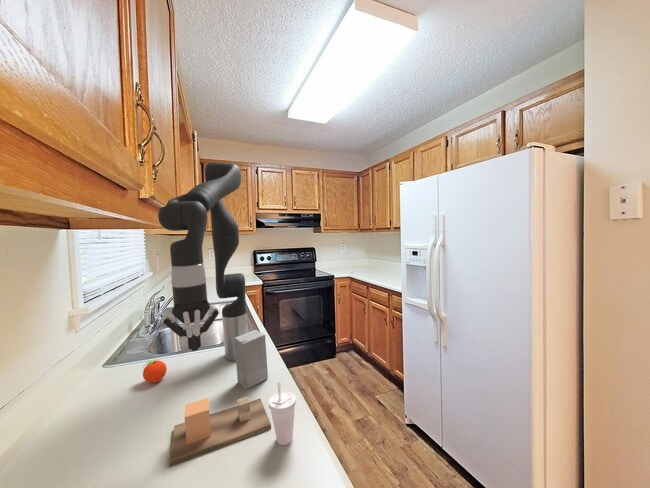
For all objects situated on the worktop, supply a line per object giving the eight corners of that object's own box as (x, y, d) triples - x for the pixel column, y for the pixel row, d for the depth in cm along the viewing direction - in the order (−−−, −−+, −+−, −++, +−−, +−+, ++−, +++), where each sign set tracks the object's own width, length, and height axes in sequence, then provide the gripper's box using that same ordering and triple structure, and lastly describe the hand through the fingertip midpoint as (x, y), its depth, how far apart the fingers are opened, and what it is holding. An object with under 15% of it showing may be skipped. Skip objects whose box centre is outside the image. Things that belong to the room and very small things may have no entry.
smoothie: (269, 433, 65) (265, 378, 64) (294, 425, 68) (291, 372, 67) (273, 454, 59) (269, 393, 58) (301, 444, 62) (298, 385, 61)
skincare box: (258, 372, 94) (255, 328, 93) (269, 379, 89) (266, 333, 88) (235, 383, 88) (232, 336, 87) (246, 391, 83) (243, 341, 82)
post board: (174, 429, 68) (172, 408, 68) (260, 401, 78) (259, 383, 78) (170, 465, 58) (168, 441, 57) (271, 428, 67) (269, 407, 67)
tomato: (135, 387, 89) (133, 366, 88) (150, 375, 96) (148, 356, 95) (158, 387, 88) (156, 366, 88) (171, 375, 95) (170, 356, 95)
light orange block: (187, 430, 67) (185, 404, 66) (210, 422, 69) (208, 397, 68) (186, 444, 62) (184, 417, 62) (211, 436, 64) (209, 409, 64)
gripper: (216, 276, 73) (221, 338, 74) (160, 283, 67) (166, 349, 68) (218, 281, 66) (224, 349, 67) (156, 289, 60) (163, 363, 62)
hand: (195, 349), depth 68 cm, fingers closed
